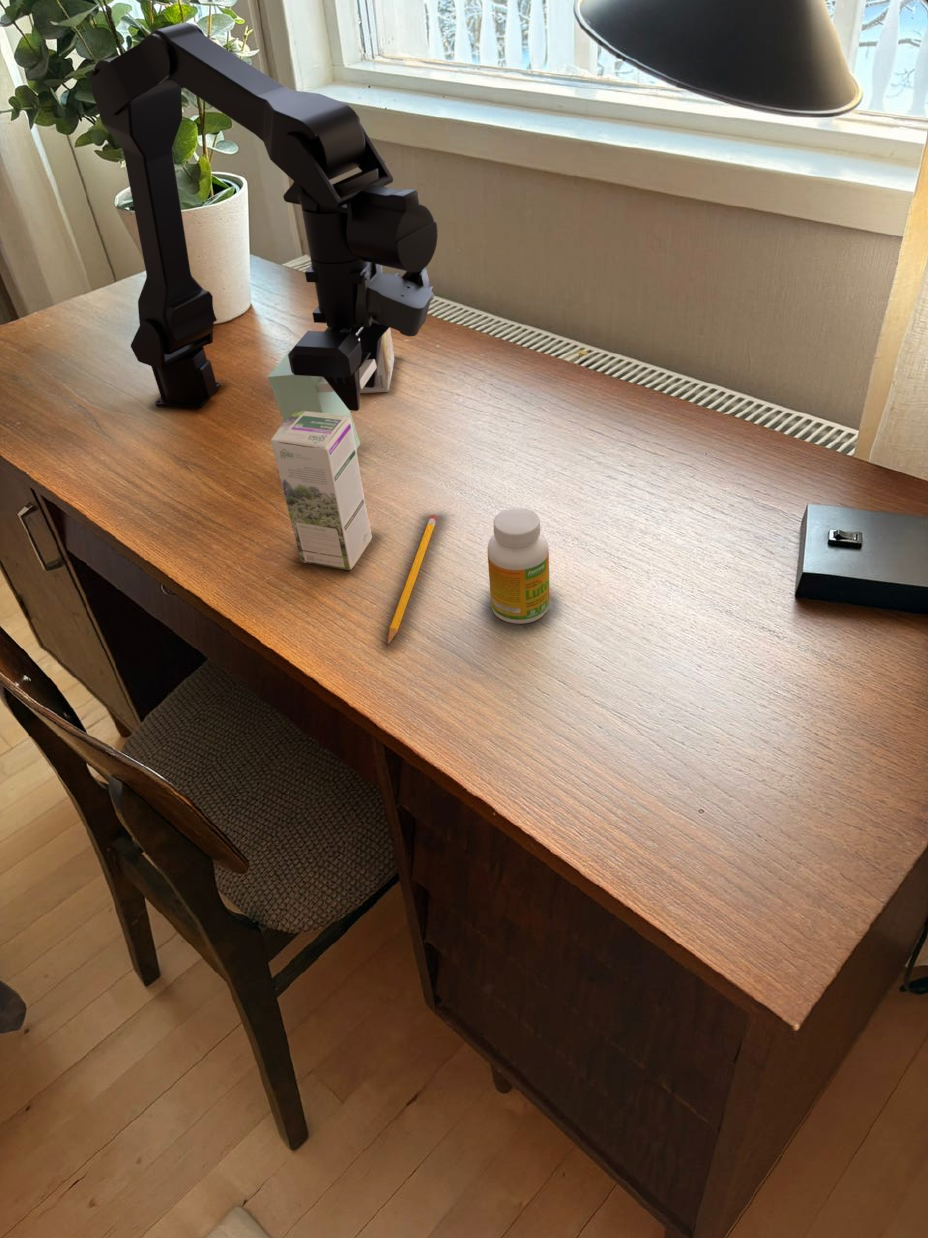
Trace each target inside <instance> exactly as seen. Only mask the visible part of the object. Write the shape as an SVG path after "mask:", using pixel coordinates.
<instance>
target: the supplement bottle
mask: <svg viewBox="0 0 928 1238" xmlns="http://www.w3.org/2000/svg"><path fill="white" fill-rule="evenodd" d="M549 546H550V545H549V541H548V540H547V538H546V536H545V535H544V534H543V533H542V532H541V519H540V517H539V515H538V514H537V513H536V512H535V511H534V510H532V509H530V508H526V507H510V508H506V509H503V510H501V511H500V512H498V513H497V514H496V515H495V516H494V519H493V535H492V536H491V537H490V539H489V540H488V544H487V566H488V580H489V594H490V607H491V610H492V612H493V614H494V615H495V616H496V617H497V618H499V619H500V620H502V621H504V622H506V623H510V624H517V625H518V624H519V625H521V624H529V623H533V622H536V621H538V620H539V619H540V618H542V617H544V615H546V613H547V612H548V610H549V606H550V549H549Z"/></svg>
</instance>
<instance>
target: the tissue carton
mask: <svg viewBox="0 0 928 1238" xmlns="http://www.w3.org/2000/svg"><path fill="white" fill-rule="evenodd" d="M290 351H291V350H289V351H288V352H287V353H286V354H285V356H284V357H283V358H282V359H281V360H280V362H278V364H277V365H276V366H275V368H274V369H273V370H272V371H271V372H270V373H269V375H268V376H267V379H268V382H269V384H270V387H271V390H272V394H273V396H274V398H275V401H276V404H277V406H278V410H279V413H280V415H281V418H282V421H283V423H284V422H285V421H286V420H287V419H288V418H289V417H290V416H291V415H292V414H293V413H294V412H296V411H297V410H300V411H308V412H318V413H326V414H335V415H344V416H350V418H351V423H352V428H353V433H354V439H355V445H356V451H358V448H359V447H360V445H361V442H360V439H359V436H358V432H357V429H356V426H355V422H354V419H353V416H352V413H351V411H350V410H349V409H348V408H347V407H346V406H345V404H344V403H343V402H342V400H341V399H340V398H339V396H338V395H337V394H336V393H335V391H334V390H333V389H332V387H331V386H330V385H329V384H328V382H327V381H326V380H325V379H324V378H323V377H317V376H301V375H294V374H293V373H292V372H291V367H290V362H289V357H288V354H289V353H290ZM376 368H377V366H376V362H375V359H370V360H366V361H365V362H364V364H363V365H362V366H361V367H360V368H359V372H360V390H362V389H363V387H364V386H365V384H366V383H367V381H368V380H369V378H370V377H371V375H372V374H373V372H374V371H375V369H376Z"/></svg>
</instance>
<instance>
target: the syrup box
mask: <svg viewBox="0 0 928 1238" xmlns="http://www.w3.org/2000/svg"><path fill="white" fill-rule="evenodd" d="M270 442H271V446H272V451H273V454H274V458H275V462H276V467H277V470H278V471H277V472H278V474H279V478H280V483H281V486H282V490H283V496H284V499H285V503H286V507H287V511H288V516H289V520H290V523H291V528H292V531H293V535H294V539H295V543H296V544H295V545H296V547H297V552H298V556H299V560H300V562H301V563H304V564H309V565H315V566H322V567H327V568H334V569H339V570H346V571H351V570H352V569H353V568H354V566H355V565H356V564H357V563H358V561H359V560H360V558H361V556H362V555H363V553H364V552H365V550H366V549H367V547H368V546H369V544H370V542H371V541H372V539H373V536H372V535H373V534H372V530H371V524H370V521H369V515H368V510H367V505H366V500H365V499H366V498H365V493H364V488H363V482H362V477H361V469H360V463H359V457H358V450H356V445H355V439H354V433H353V428H352V423H351V418H350V416H344V415H335V414H326V413H318V412H308V411H300V410H297V411H296V412H294V413H293V414H292V415H291V416H290V417H289V418H288V419H287V420H286V421H285V422H284V421H283V423H282V424H281V426H280V427H279V428H278V429H277V431H276V432H275V433H274V435H273V436H272V438H271V439H270Z"/></svg>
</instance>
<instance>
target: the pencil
mask: <svg viewBox="0 0 928 1238" xmlns="http://www.w3.org/2000/svg"><path fill="white" fill-rule="evenodd" d="M437 520H438V517H437V516H436V515H435V514H431V515H430V516H429V518H428V521H427V524H426V527H425V530H424V532H423V535H422V537H421V540H420V543H419V545H418V548H417V551H416V554H415V557H414V560H413V562H412V565H411V568H410V571H409V573H408V576H407V578H406V581H405V585H404V587H403V590H402V593H401V595H400V598H399V601H398V604H397V607H396V609H395V612H394V615H393V617H392V620H391V623H390V625H389V629H388V638H387V641H388V642H387V643H388V645H389V644H390V643H391V642H392V641H393V638H395V636H396V634H397V633H398V631H399V629H400V625H401V622H402V620H403V617H404V613H405V611H406V608H407V605H408V602H409V600H410V596H411V594H412V591H413V588H414V585H415V584H416V583H415V582H416V580H417V576H418V574H419V572H420V568H421V565H422V562H423V559H424V557H425V555H426V554H425V553H426V551H427V548H428V547H429V543H430V540H431V537H432V534H433V531H434V528H435V525H436V523H437Z"/></svg>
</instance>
